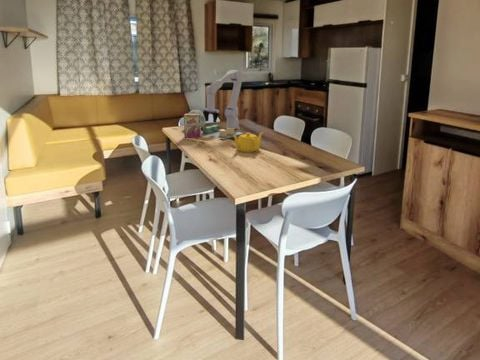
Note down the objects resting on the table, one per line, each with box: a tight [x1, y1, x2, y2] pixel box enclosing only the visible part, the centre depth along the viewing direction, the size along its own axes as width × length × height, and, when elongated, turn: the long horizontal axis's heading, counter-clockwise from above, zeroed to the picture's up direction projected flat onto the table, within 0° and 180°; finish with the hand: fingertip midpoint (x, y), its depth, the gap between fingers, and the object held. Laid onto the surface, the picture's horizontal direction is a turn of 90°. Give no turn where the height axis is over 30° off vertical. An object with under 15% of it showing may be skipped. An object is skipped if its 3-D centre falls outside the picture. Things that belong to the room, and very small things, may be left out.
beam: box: [202, 124, 220, 134], centre depth 285 cm, size 14×4×4 cm, turn 142°
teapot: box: [233, 132, 264, 153], centre depth 239 cm, size 22×16×11 cm
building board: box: [201, 127, 245, 141], centre depth 281 cm, size 24×26×5 cm
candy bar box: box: [183, 113, 202, 139], centre depth 271 cm, size 11×5×16 cm, turn 84°
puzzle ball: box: [187, 109, 207, 129], centre depth 298 cm, size 15×15×15 cm
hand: (210, 121), depth 284 cm, fingers open, 7 cm apart
